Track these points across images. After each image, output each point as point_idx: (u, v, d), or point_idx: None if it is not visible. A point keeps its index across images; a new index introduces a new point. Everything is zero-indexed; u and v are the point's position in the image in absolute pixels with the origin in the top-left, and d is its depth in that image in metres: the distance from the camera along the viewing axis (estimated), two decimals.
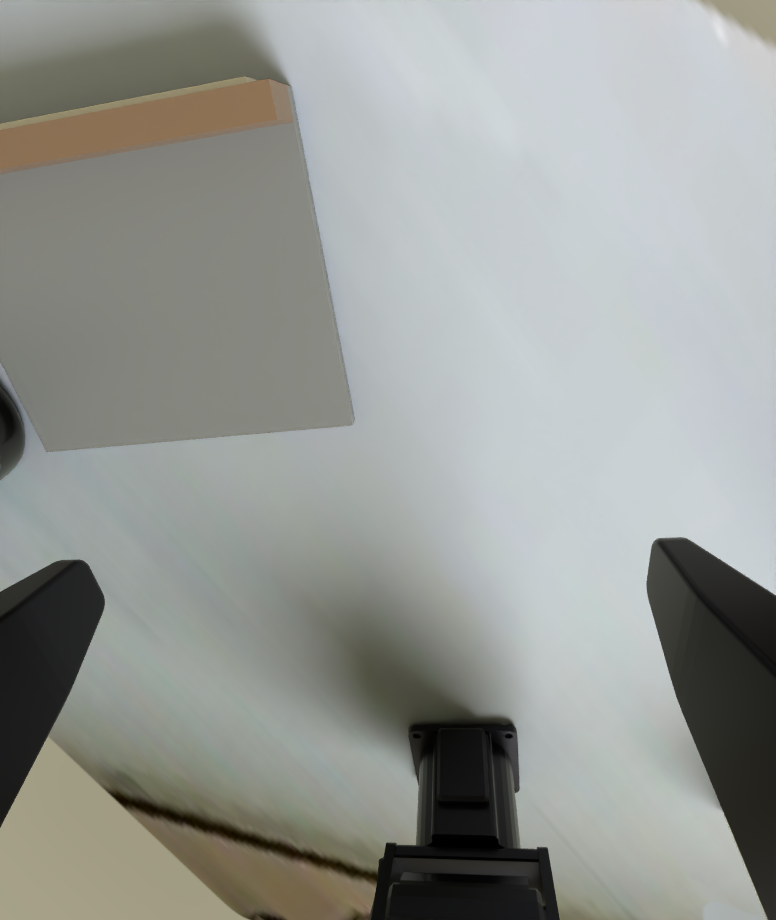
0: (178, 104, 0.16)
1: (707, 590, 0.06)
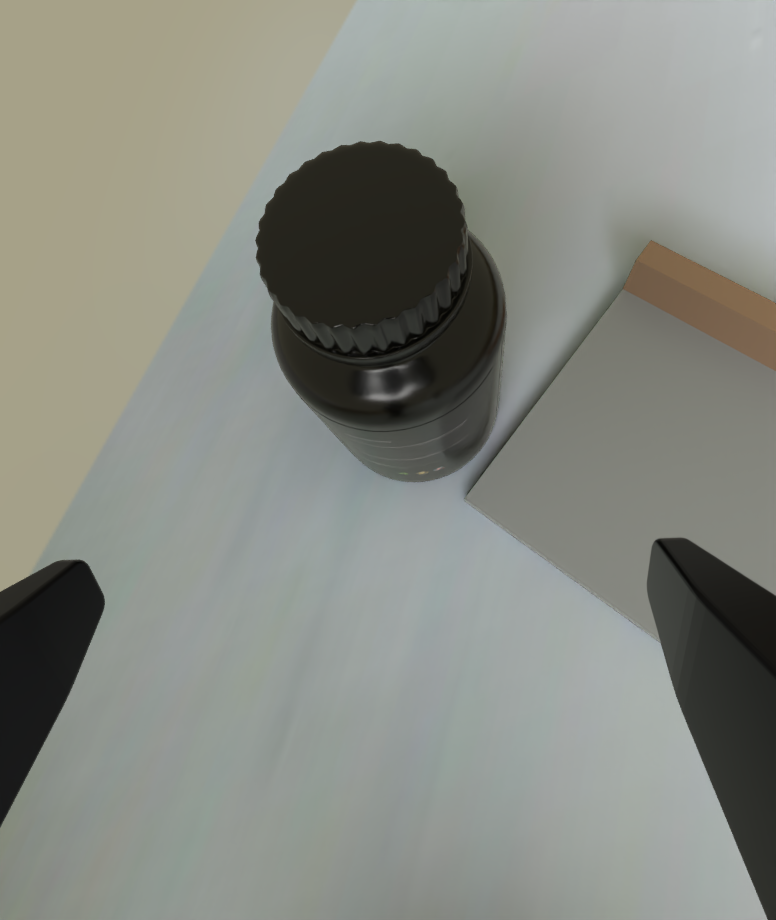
0: None
1: (707, 590, 0.06)
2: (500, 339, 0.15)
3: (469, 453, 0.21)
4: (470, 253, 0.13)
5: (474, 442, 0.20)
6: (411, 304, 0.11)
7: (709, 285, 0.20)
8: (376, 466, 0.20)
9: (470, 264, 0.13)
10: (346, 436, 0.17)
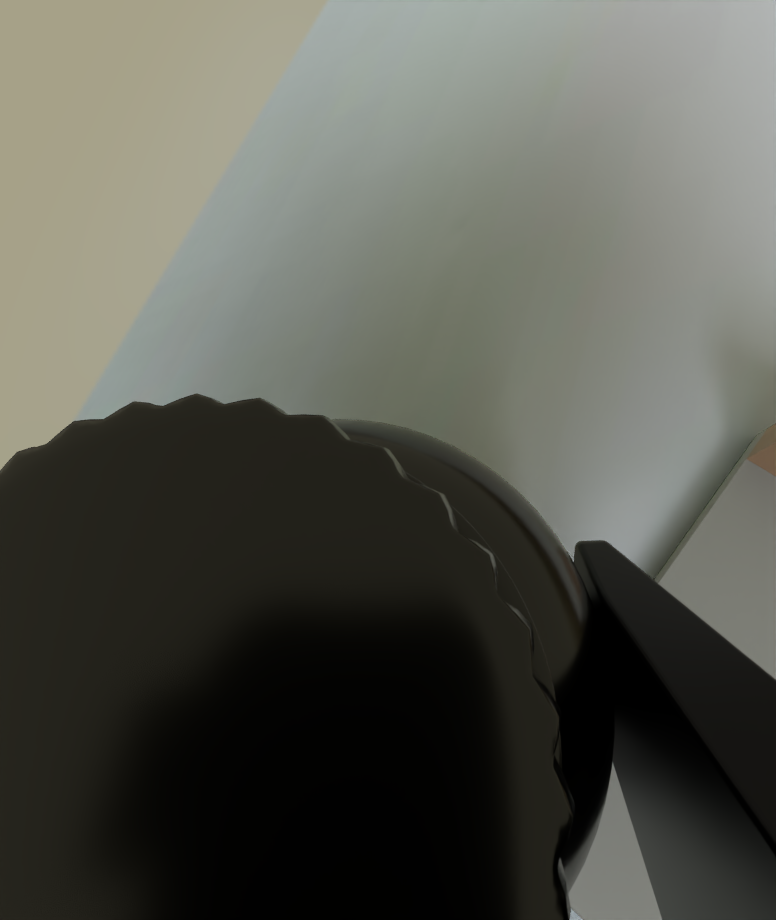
0: None
1: (611, 592, 0.06)
2: (604, 804, 0.06)
3: None
4: None
5: None
6: None
7: None
8: None
9: None
10: None
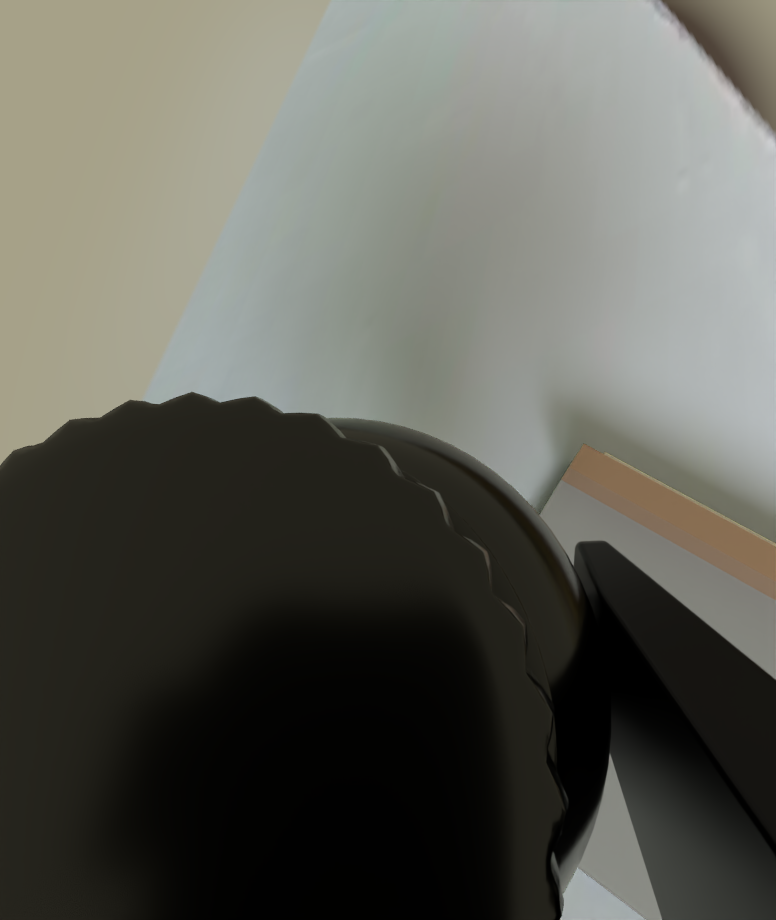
0: None
1: (611, 592, 0.06)
2: (600, 801, 0.06)
3: None
4: None
5: None
6: None
7: (649, 497, 0.18)
8: None
9: None
10: None
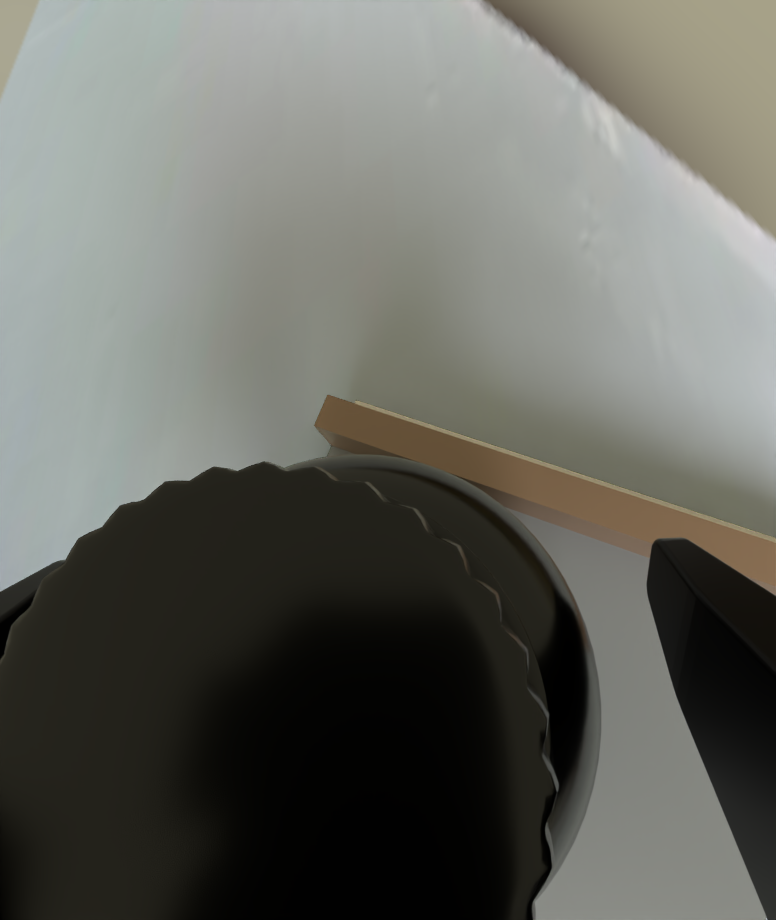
0: (760, 546, 0.13)
1: (707, 590, 0.06)
2: (591, 792, 0.07)
3: None
4: (547, 729, 0.05)
5: None
6: None
7: (407, 441, 0.15)
8: None
9: None
10: None
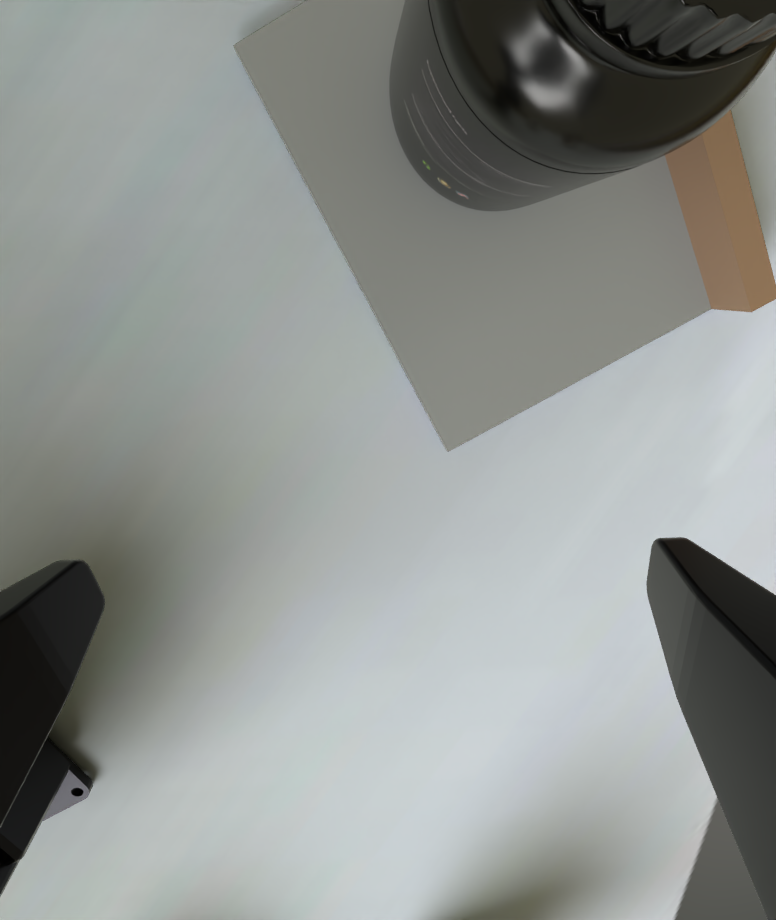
0: (752, 218, 0.17)
1: (707, 590, 0.06)
2: (687, 142, 0.10)
3: (501, 207, 0.16)
4: None
5: (519, 204, 0.16)
6: (720, 8, 0.07)
7: None
8: (408, 129, 0.15)
9: None
10: (424, 70, 0.11)
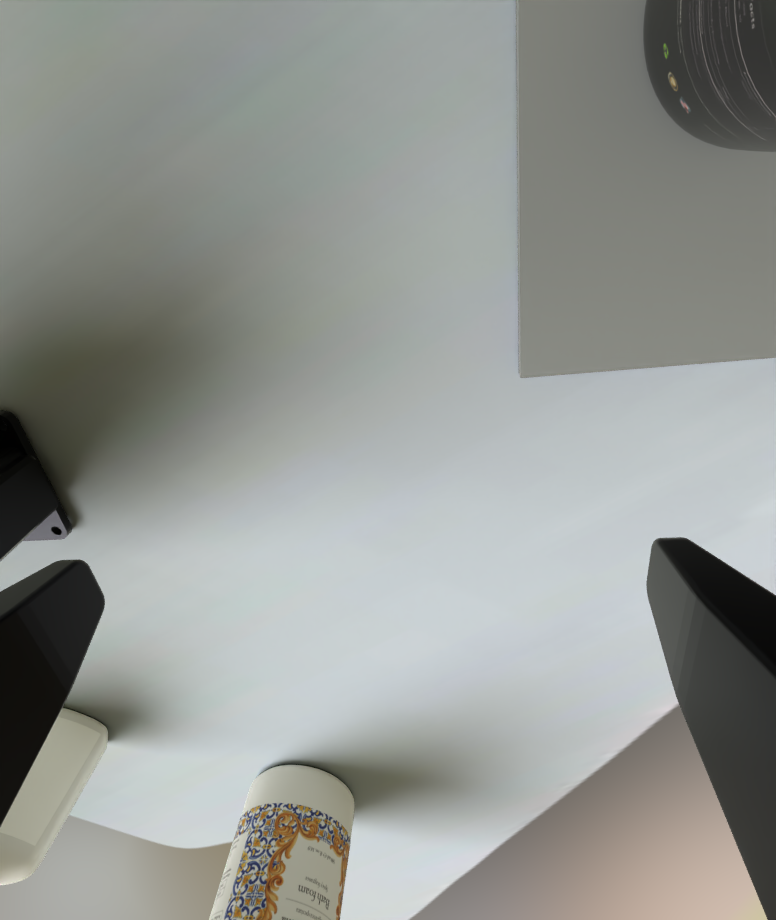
0: None
1: (707, 590, 0.06)
2: None
3: (716, 139, 0.14)
4: None
5: (741, 144, 0.13)
6: None
7: None
8: None
9: None
10: None
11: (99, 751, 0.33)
